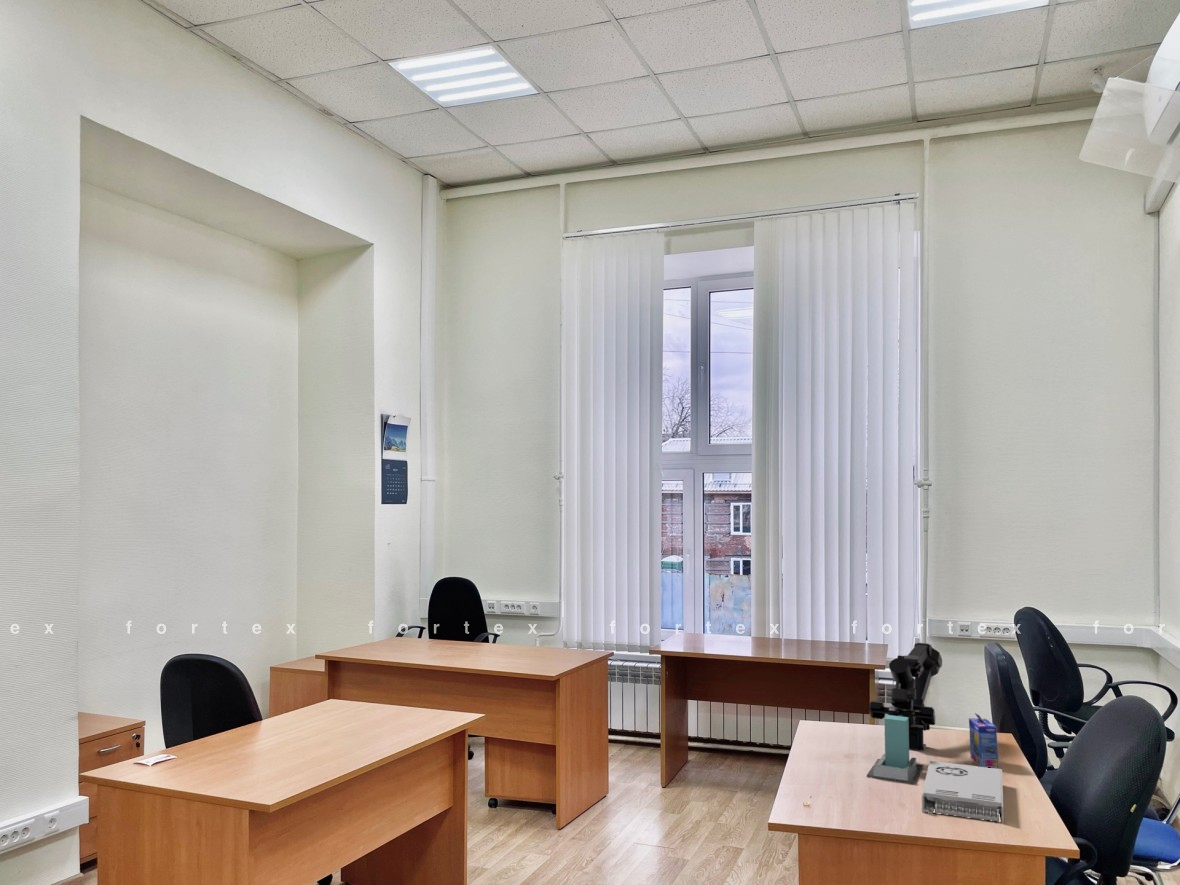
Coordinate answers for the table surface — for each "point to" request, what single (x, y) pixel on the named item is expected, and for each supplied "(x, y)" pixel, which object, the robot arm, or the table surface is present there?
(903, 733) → the block
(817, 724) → the table surface
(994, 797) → the power supply unit
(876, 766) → the chute
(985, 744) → the ink cartridge box
